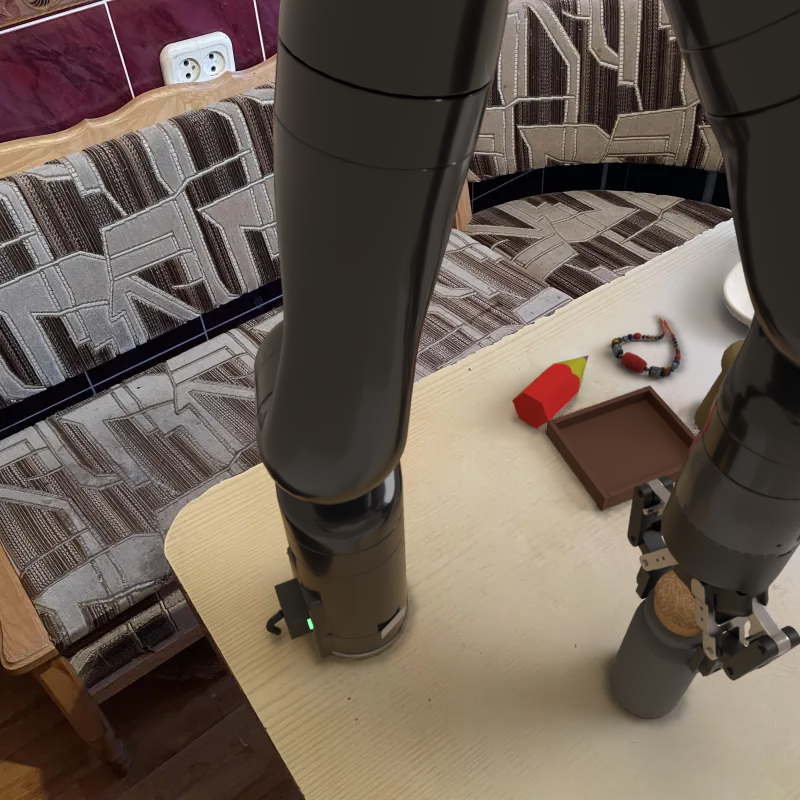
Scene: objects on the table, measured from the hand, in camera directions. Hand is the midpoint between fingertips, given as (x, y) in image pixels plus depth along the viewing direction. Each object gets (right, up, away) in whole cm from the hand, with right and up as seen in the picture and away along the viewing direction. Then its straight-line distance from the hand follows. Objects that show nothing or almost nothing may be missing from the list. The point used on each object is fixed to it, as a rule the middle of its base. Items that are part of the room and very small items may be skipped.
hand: (674, 627), depth 56 cm
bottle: (0, -7, +8) cm, 11 cm away
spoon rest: (+28, +31, +43) cm, 60 cm away
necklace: (+10, +23, +36) cm, 44 cm away
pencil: (-2, +17, +31) cm, 35 cm away
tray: (+4, +11, +25) cm, 28 cm away
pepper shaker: (+15, +14, +27) cm, 34 cm away
